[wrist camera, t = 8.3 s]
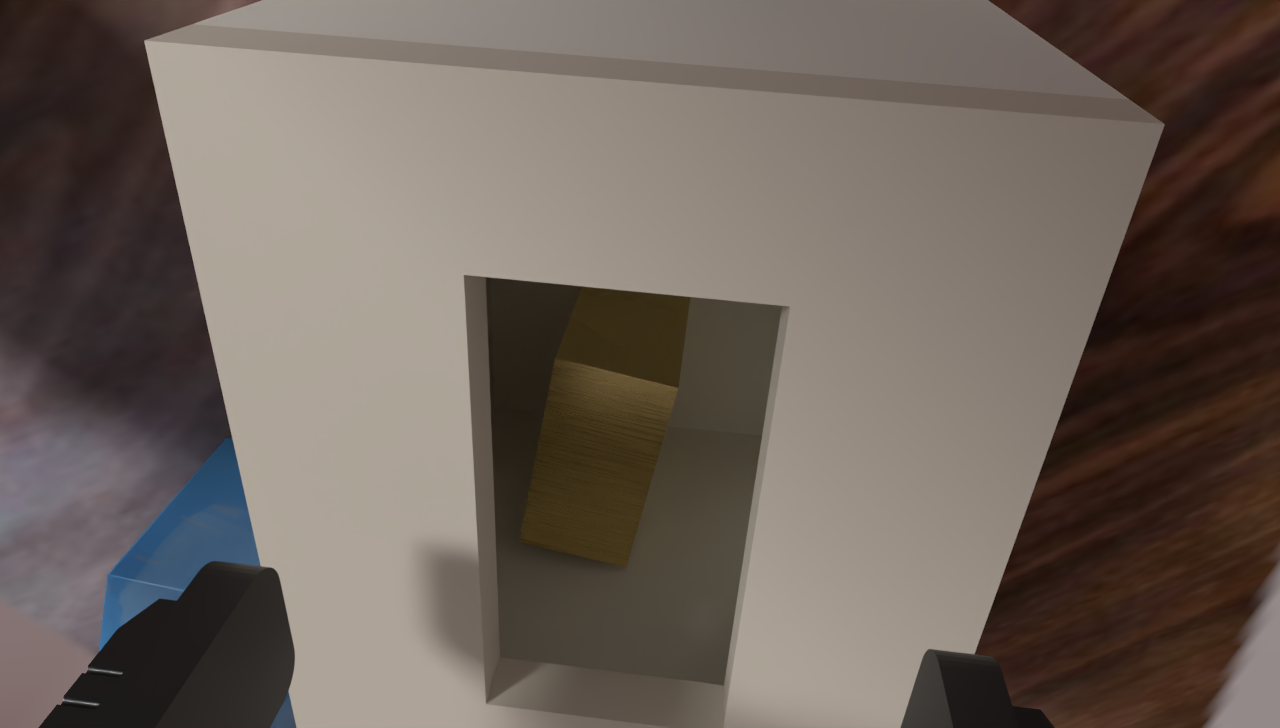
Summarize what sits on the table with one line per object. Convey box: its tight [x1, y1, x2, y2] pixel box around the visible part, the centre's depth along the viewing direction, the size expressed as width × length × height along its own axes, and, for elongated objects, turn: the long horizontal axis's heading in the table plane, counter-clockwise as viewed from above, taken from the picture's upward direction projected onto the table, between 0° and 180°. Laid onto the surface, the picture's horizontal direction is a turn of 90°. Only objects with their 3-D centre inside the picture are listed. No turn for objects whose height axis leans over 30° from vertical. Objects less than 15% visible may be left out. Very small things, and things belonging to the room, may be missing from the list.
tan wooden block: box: [519, 286, 690, 568], centre depth 21 cm, size 6×2×5 cm
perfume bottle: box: [99, 438, 297, 728], centre depth 25 cm, size 6×6×12 cm
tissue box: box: [144, 0, 1165, 728], centre depth 18 cm, size 13×11×12 cm
